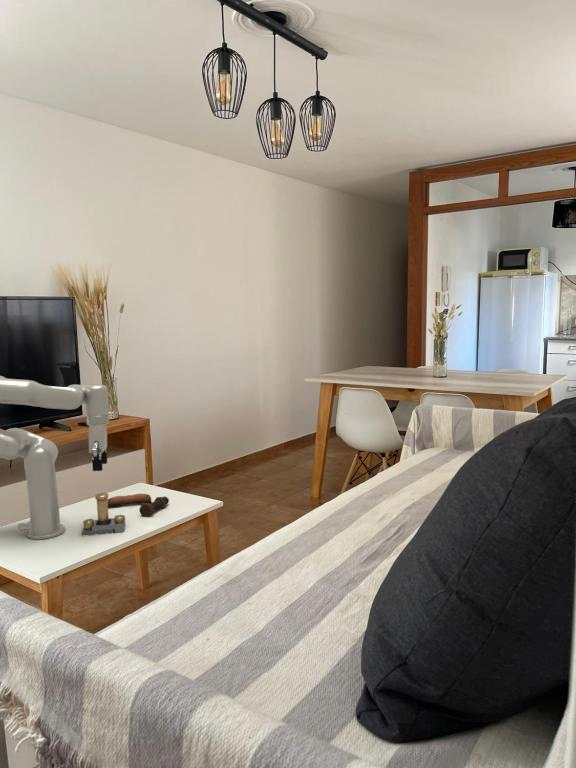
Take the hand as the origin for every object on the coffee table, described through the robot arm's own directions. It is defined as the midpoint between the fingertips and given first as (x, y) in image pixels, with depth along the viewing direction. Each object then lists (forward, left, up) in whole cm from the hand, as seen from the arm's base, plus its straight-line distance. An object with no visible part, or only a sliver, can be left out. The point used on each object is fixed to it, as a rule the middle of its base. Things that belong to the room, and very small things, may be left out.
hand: (100, 467), depth 208 cm
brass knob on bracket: (0, -4, -22) cm, 22 cm away
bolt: (+18, +13, -22) cm, 32 cm away
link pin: (0, -4, -22) cm, 22 cm away
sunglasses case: (+7, +25, -23) cm, 34 cm away
